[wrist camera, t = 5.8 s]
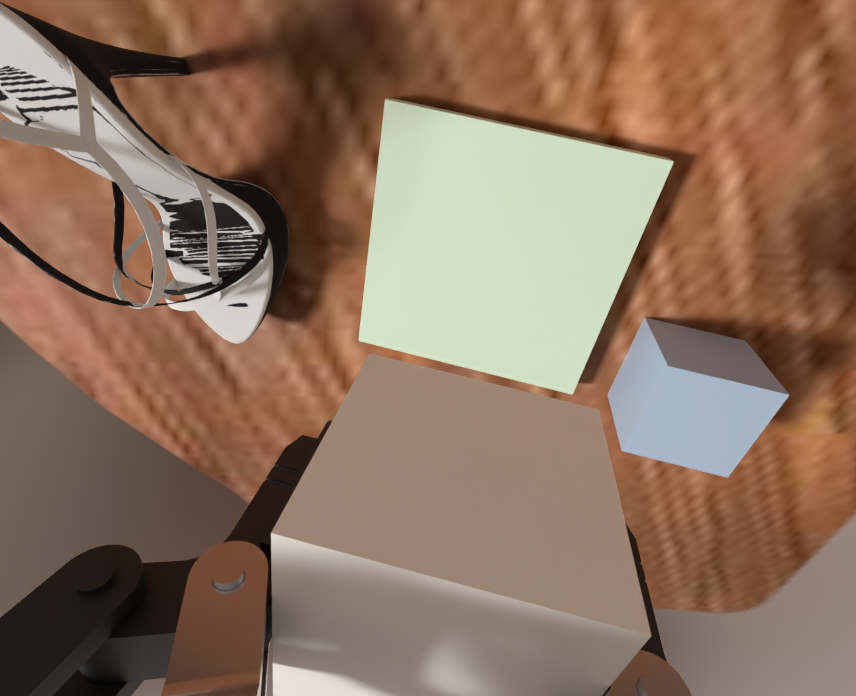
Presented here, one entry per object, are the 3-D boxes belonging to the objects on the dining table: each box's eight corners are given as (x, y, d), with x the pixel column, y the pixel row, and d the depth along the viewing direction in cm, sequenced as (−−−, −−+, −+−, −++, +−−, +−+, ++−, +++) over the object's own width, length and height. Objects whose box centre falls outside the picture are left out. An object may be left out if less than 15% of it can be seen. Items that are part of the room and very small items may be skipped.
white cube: (598, 409, 10) (651, 635, 6) (530, 553, 13) (535, 776, 9) (369, 353, 11) (271, 533, 7) (350, 505, 14) (273, 699, 9)
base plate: (667, 157, 21) (674, 161, 20) (571, 382, 28) (572, 394, 27) (391, 98, 22) (385, 99, 21) (364, 331, 29) (358, 340, 28)
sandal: (283, 331, 30) (105, 520, 17) (151, 284, 30) (-123, 439, 17) (320, 69, 22) (35, 64, 9) (138, 5, 22) (-393, -87, 9)
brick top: (744, 339, 25) (789, 394, 21) (697, 415, 28) (727, 477, 23) (644, 316, 25) (668, 366, 21) (607, 393, 28) (621, 450, 24)
